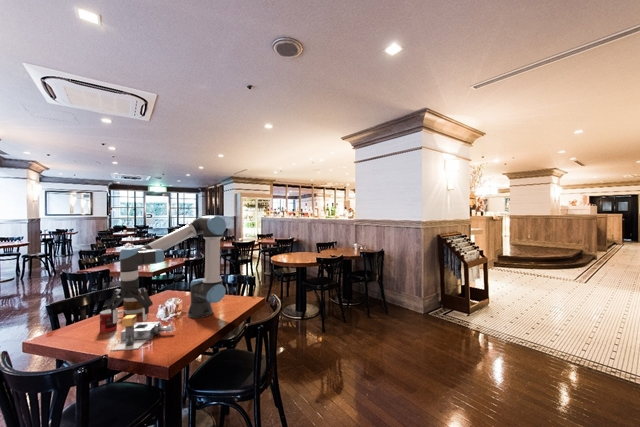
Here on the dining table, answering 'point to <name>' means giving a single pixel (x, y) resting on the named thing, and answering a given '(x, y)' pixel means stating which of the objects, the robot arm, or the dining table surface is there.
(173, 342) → the dining table surface
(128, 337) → the key
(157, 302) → the dining table surface
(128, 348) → the rest mat
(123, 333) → the block
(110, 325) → the canned food
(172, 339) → the dining table surface
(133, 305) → the mug
